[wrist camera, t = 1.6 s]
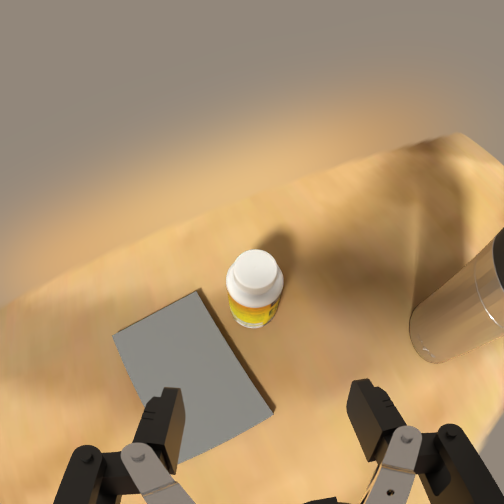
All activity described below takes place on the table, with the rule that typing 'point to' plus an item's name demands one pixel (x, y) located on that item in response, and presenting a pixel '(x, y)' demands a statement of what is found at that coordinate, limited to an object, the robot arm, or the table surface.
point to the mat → (192, 373)
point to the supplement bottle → (254, 288)
